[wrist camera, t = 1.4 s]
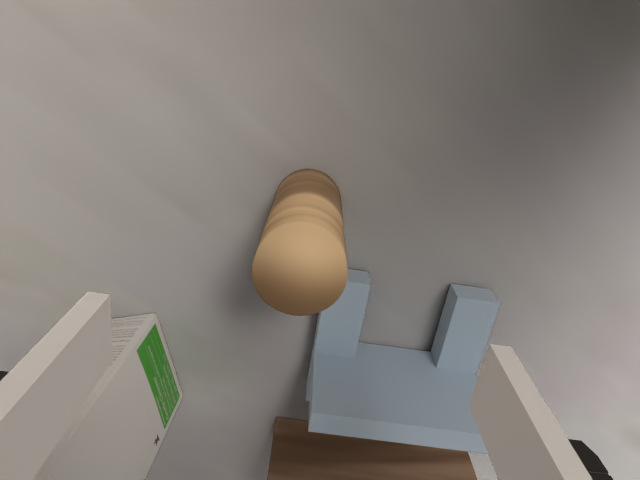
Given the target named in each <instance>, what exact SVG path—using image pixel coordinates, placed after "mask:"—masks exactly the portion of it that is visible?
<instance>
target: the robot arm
mask: <svg viewBox="0 0 640 480" xmlns="http://www.w3.org/2000/svg"><path fill="white" fill-rule="evenodd" d="M112 361H113V355H112V325H111V295H110V294H102V293H95V292H87V293H86V294H85V295H84V296H83V297H82V298H81V299H80V300H79V301H78V302H77V303H76V304H75V305H74V306H73V307H72V308H71V309H70V310H69V311H68V312H67V313H66V314H65V315H64V316H63V317H62V318H61V319H60V320H59V321H58V322H57V323H56V324H55V325H54V327H53V328H52V329H51V330H50V331H49V332H48V333H47V334H46V335H45V336H44V337H43V338H42V339H41V340H40V341H39V342H38V343H37V344H36V345H35V346H34V347H33V348H32V349H31V350H30V351H29V352H28V353H27V354H26V355H25V356H24V357H23V358H22V359H21V360H20V361H19V362H18V364H17V365H16V366H15V367H14V368H13V369H12V370H11V371H10V372H4V371H0V480H32V479H33V478H34V476H35V475H36V473H37V472H38V471H39V469H40V468H41V466H42V465H43V463H44V462H45V460H46V459H47V457H48V456H49V454H50V453H51V451H52V450H53V448H54V447H55V445H56V444H57V443H58V441H59V440H60V438H61V437H62V435H63V434H64V432H65V431H66V429H67V428H68V426H69V425H70V423H71V422H72V420H73V419H74V417H75V416H76V415H77V413H78V412H79V410H80V409H81V407H82V406H83V404H84V403H85V401H86V400H87V398H88V397H89V395H90V394H91V392H92V391H93V389H94V388H95V387H96V385H97V384H98V382H99V381H100V379H101V378H102V376H103V375H104V373H105V372H106V370H107V369H108V367H109V366H110V364H111V363H112ZM469 407H470V409H471V412H472V414H473V417H474V419H475V422H476V425H477V427H478V430H479V432H480V435H481V437H482V440H483V442H484V445H485V447H486V450H487V452H488V455H489V457H490V460H491V462H492V465H493V467H494V470H495V472H496V475H497V478H498V480H613V479H612V477H611V476H609V475H608V471H607V470H606V468H605V467H604V465H603V464H602V462H601V460H600V459H599V457H598V456H597V455H596V454H595V453H594V452H593V451H592V450H591V449H589V448H588V447H587V446H586V445H585V444H584V443H583V442H582V441H579V440H571V439H567V437H566V435H565V434H564V432H563V430H562V429H561V427H560V426H559V424H558V422H557V421H556V419H555V417H554V416H553V414H552V413H551V411H550V409H549V408H548V406H547V404H546V403H545V401H544V400H543V398H542V396H541V395H540V393H539V391H538V390H537V388H536V386H535V385H534V383H533V382H532V380H531V378H530V377H529V375H528V373H527V372H526V370H525V369H524V367H523V365H522V364H521V362H520V360H519V359H518V357H517V356H516V354H515V352H514V351H513V349H512V347H509V346H501V345H494V344H490V345H489V348H488V351H487V354H486V357H485V360H484V363H483V365H482V368H481V371H480V374H479V377H478V380H477V383H476V386H475V389H474V392H473V395H472V398H471V401H470V404H469Z"/></svg>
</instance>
